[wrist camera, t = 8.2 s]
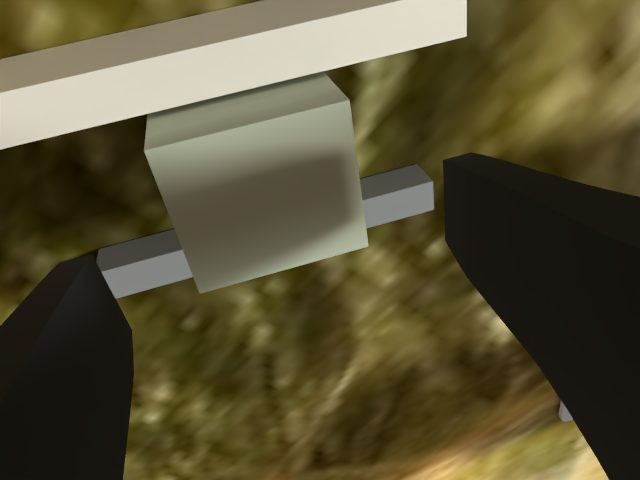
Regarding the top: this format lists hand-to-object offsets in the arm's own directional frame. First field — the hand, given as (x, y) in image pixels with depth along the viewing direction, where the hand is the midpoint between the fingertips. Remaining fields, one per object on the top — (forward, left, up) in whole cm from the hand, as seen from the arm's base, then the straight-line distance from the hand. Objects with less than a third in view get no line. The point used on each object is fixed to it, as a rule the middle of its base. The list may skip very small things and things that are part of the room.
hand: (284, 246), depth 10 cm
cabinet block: (0, 0, -8) cm, 8 cm away
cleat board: (-1, 0, -8) cm, 8 cm away
